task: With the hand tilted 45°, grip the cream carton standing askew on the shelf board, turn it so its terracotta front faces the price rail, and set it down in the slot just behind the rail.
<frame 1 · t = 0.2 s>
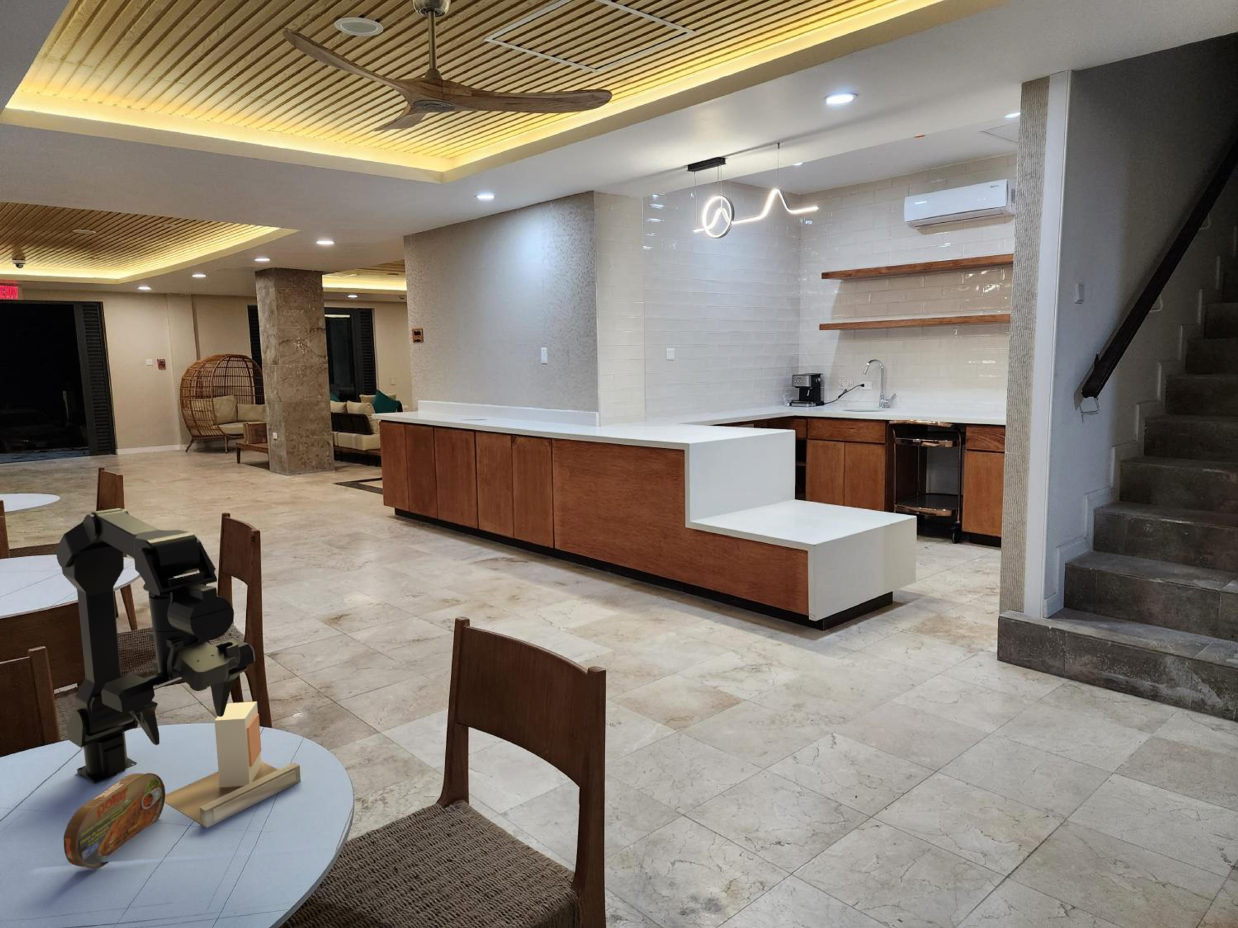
hand: (189, 729, 113), 15 cm above the table, tool pointing down, fingers open, 9 cm apart
shelf: (228, 791, 124), on the table
carton: (241, 776, 127), point 1 cm above the table, touching shelf
tin: (119, 846, 110), on the table
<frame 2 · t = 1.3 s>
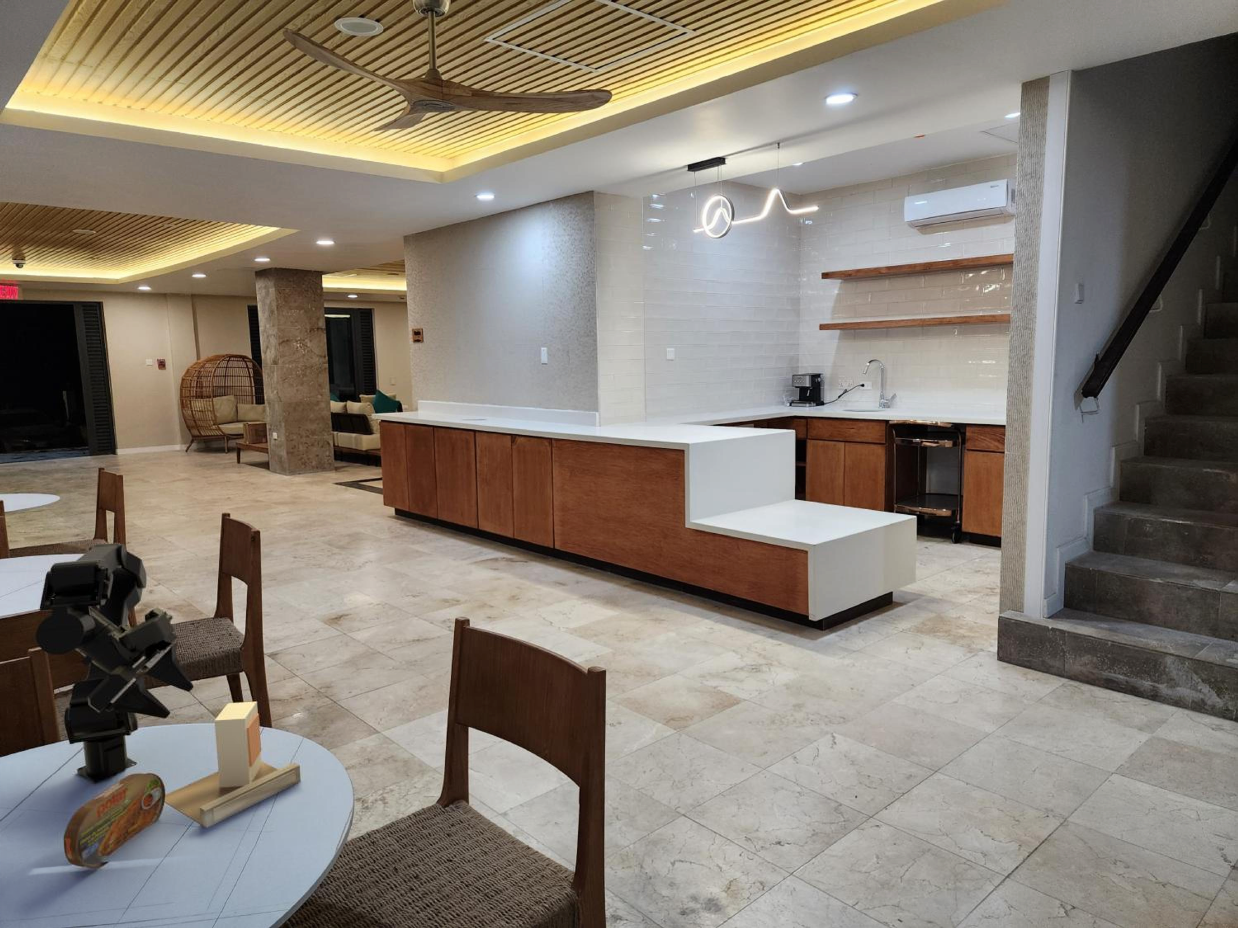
hand: (180, 702, 124), 14 cm above the table, tool tilted 45°, fingers open, 9 cm apart
nothing on the table moved.
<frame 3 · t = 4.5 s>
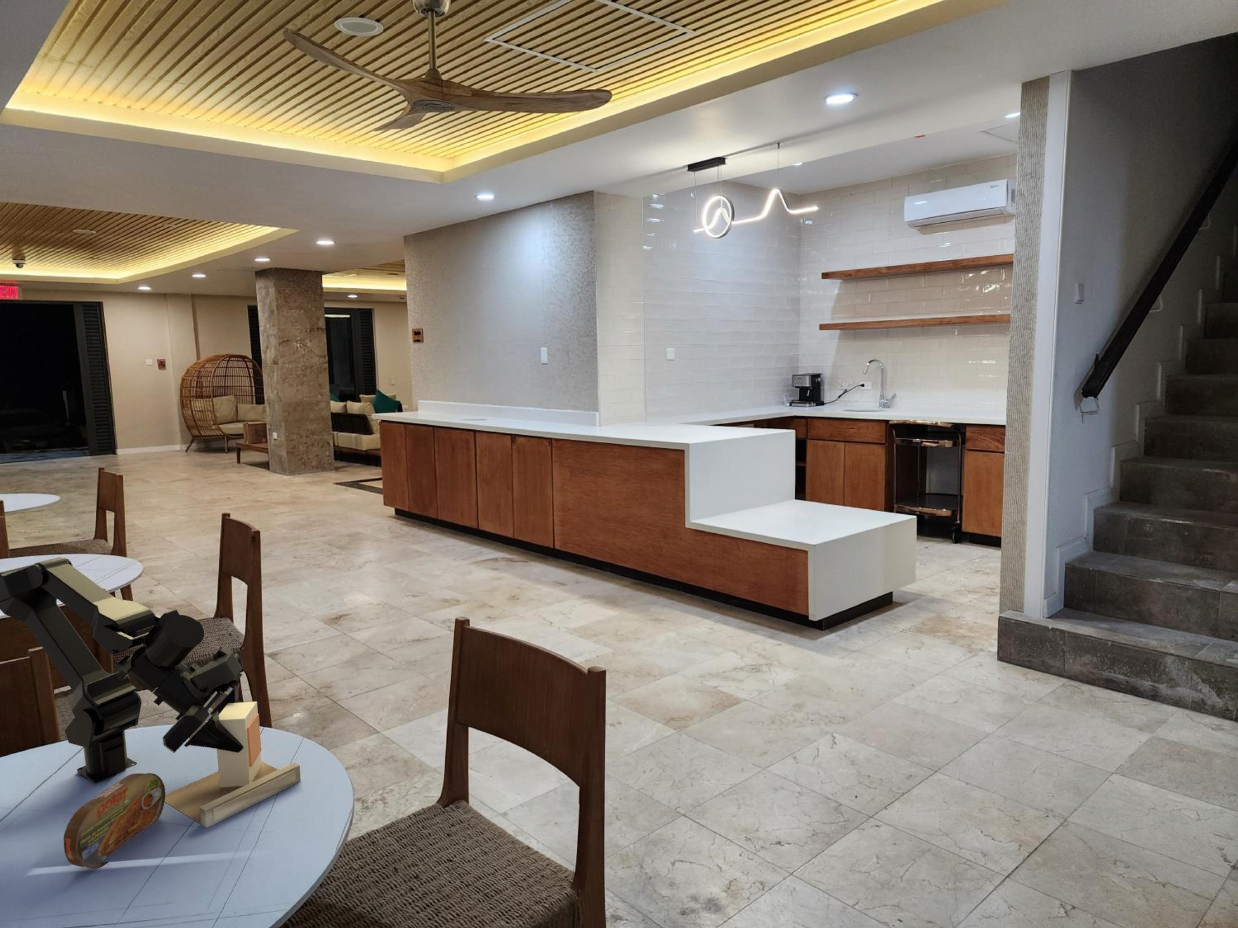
hand: (247, 739, 126), 7 cm above the table, tool tilted 45°, fingers closed on carton, 6 cm apart
carton: (241, 776, 127), point 1 cm above the table, touching gripper, shelf
everything else where it was.
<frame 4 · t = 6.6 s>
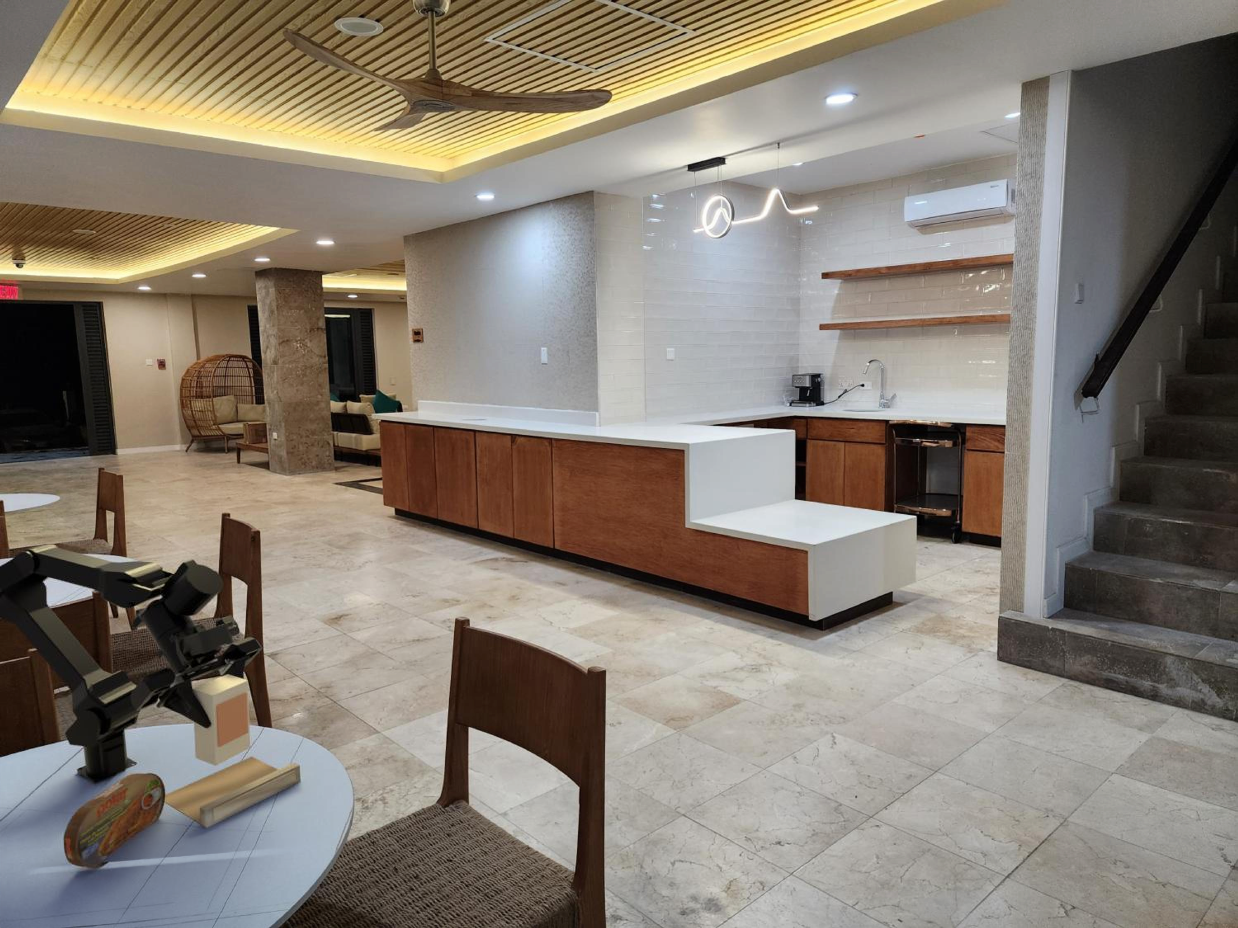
hand: (228, 717, 120), 13 cm above the table, tool tilted 45°, fingers closed on carton, 6 cm apart
carton: (223, 752, 121), point 7 cm above the table, touching gripper
everything else where it was.
when the fingers open (8 cm above the table, at t = 9.1 s): carton drops 1 cm, resting on shelf.
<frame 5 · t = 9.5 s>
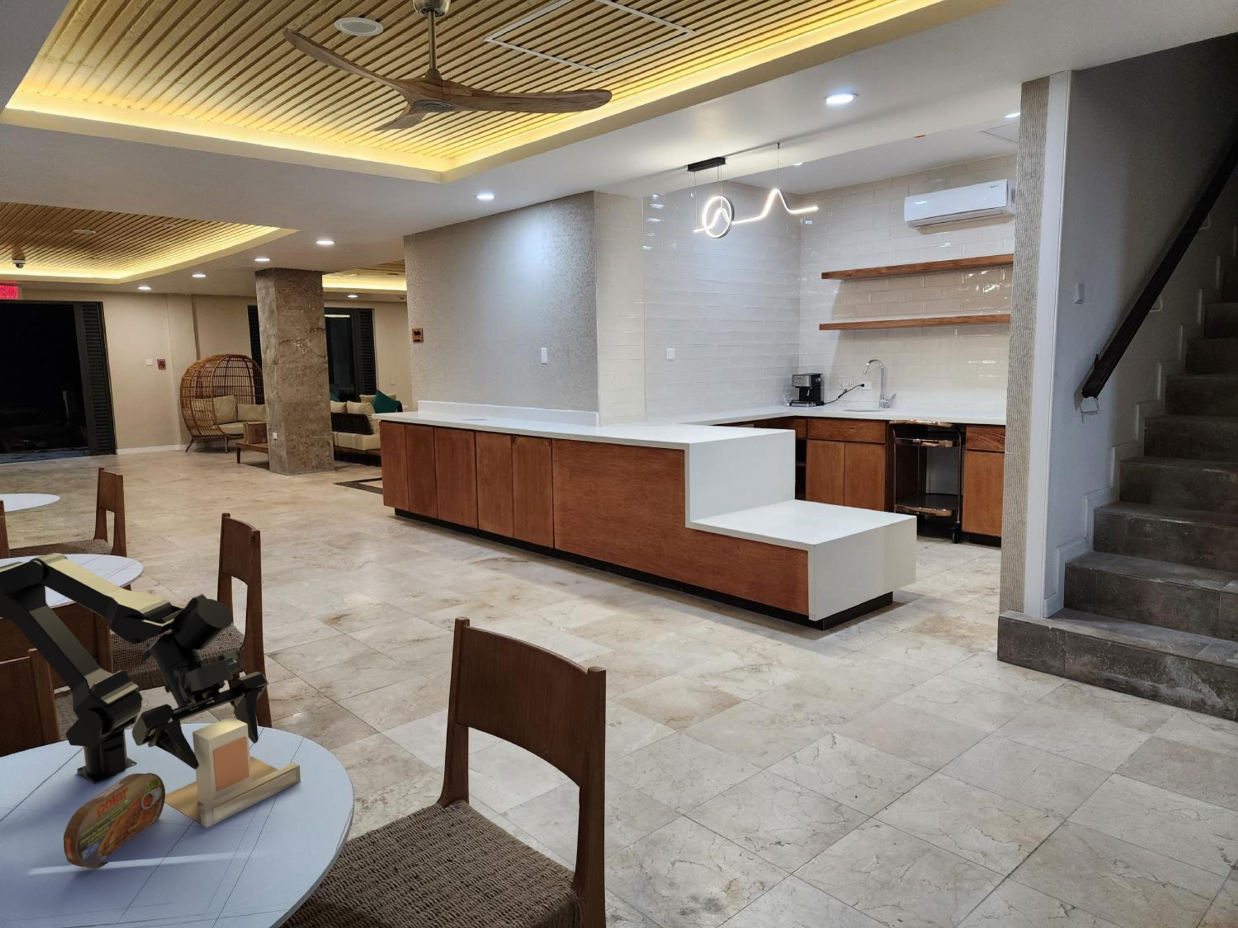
hand: (227, 754, 120), 8 cm above the table, tool tilted 45°, fingers open, 9 cm apart
carton: (225, 796, 121), point 1 cm above the table, touching shelf
everything else where it was.
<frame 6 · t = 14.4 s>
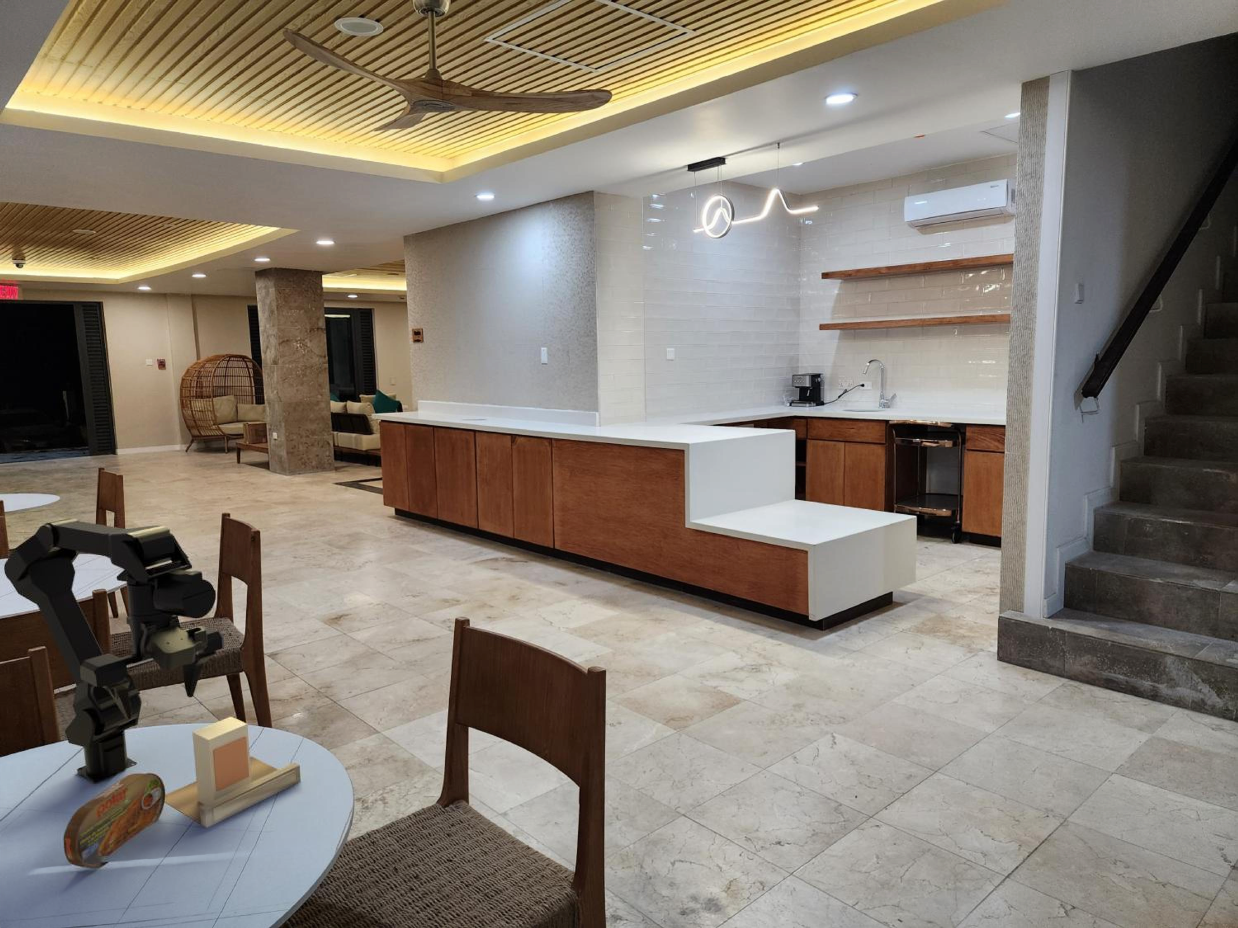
hand: (160, 707, 123), 13 cm above the table, tool pointing down, fingers open, 9 cm apart
nothing on the table moved.
at the end: carton 0.3 cm from the target spot, point 0.6 cm above the table; carton tilted 0°; carton touching shelf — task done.
